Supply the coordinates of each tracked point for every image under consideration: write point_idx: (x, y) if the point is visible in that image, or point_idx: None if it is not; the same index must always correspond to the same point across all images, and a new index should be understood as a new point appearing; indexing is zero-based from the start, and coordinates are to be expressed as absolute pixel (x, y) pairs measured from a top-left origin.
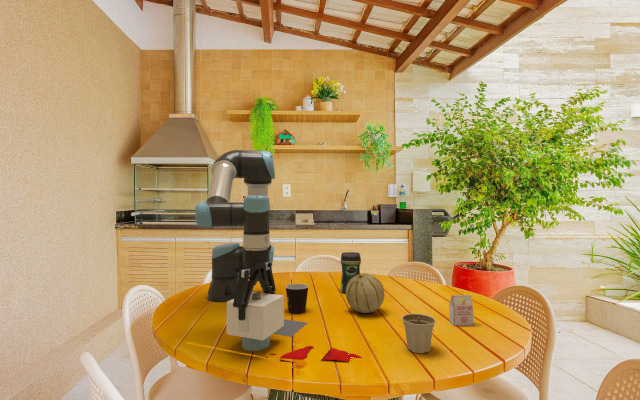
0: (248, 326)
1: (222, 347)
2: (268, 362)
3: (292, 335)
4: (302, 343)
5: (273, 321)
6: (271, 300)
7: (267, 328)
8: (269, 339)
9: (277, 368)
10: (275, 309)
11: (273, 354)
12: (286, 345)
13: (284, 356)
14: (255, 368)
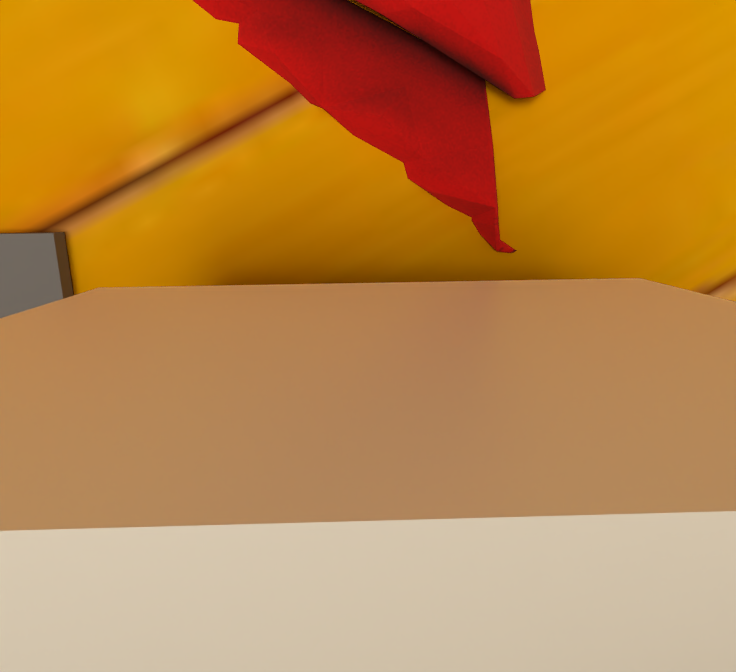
0: None
1: None
2: (589, 185)
3: (20, 237)
4: (107, 67)
5: (401, 311)
6: (442, 652)
7: (586, 299)
8: None
9: (667, 51)
10: (314, 371)
11: (494, 195)
12: (224, 203)
13: (522, 55)
14: (712, 231)
